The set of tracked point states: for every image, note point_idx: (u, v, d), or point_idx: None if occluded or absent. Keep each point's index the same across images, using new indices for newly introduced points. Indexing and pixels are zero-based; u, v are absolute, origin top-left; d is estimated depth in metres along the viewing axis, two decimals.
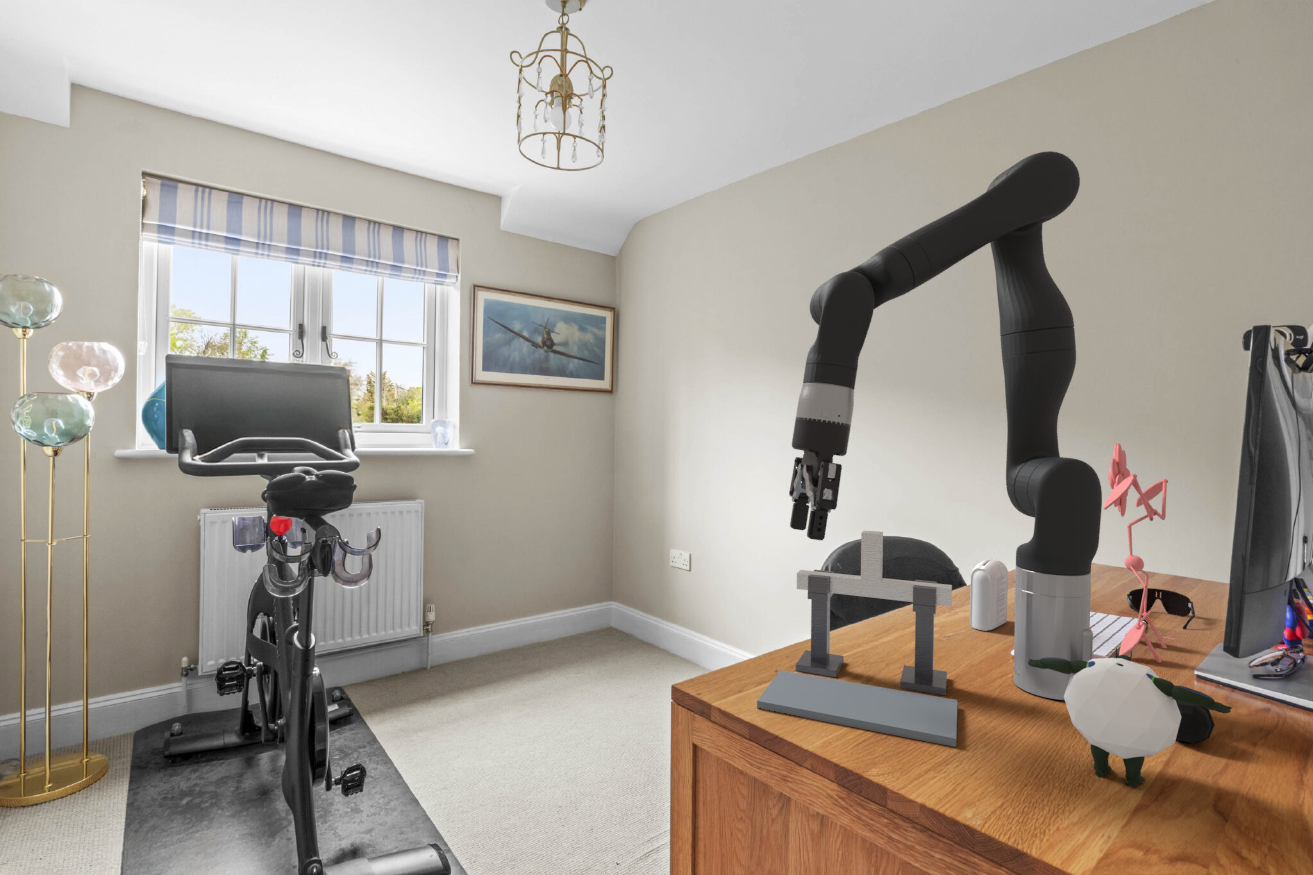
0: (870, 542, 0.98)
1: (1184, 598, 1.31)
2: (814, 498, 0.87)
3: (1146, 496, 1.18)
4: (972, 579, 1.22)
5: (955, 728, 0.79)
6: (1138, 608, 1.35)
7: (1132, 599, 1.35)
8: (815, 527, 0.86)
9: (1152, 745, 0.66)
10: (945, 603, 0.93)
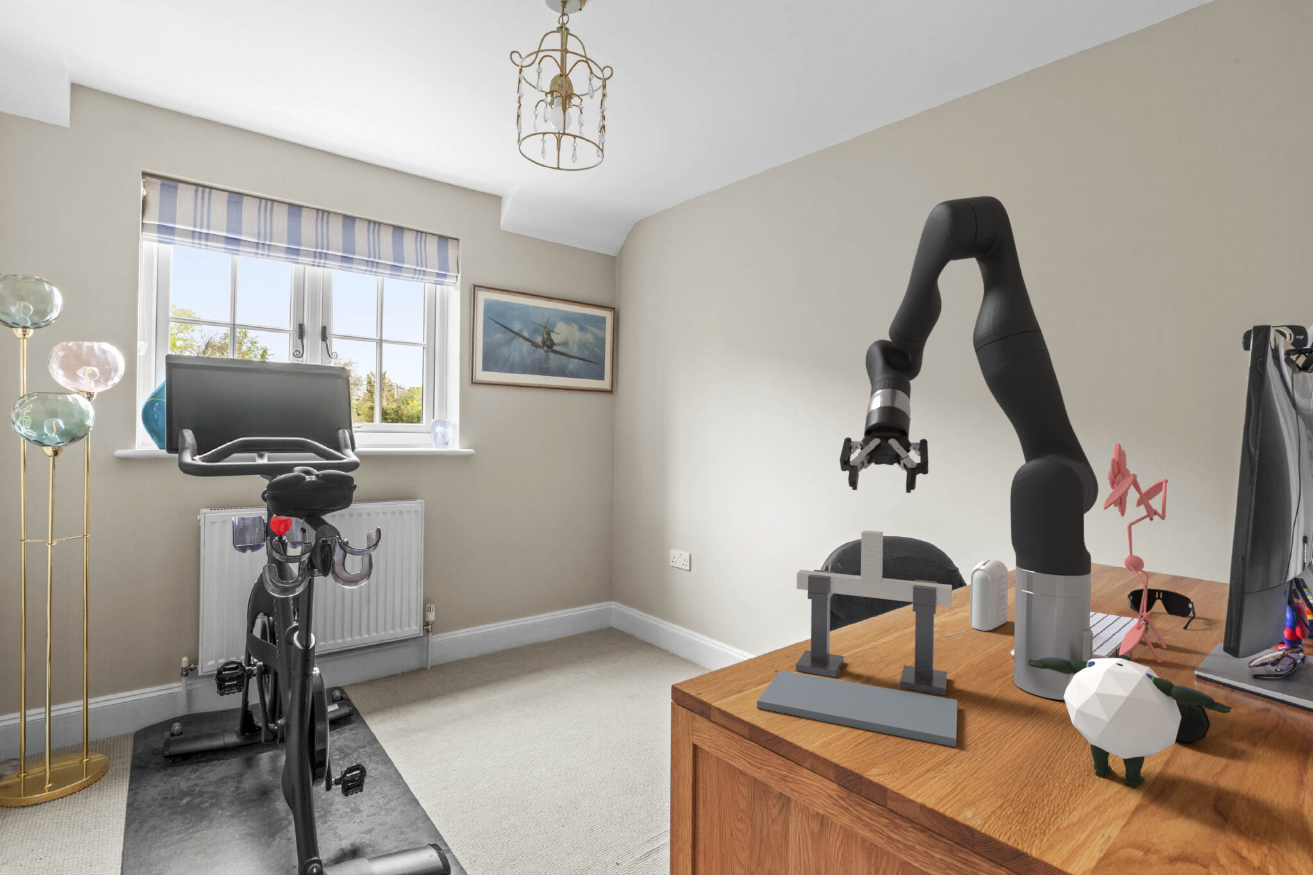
0: (870, 542, 0.98)
1: (1184, 598, 1.31)
2: None
3: (1146, 496, 1.18)
4: (972, 579, 1.22)
5: (955, 728, 0.79)
6: (1138, 608, 1.35)
7: (1132, 599, 1.35)
8: None
9: (1152, 745, 0.66)
10: (945, 603, 0.93)
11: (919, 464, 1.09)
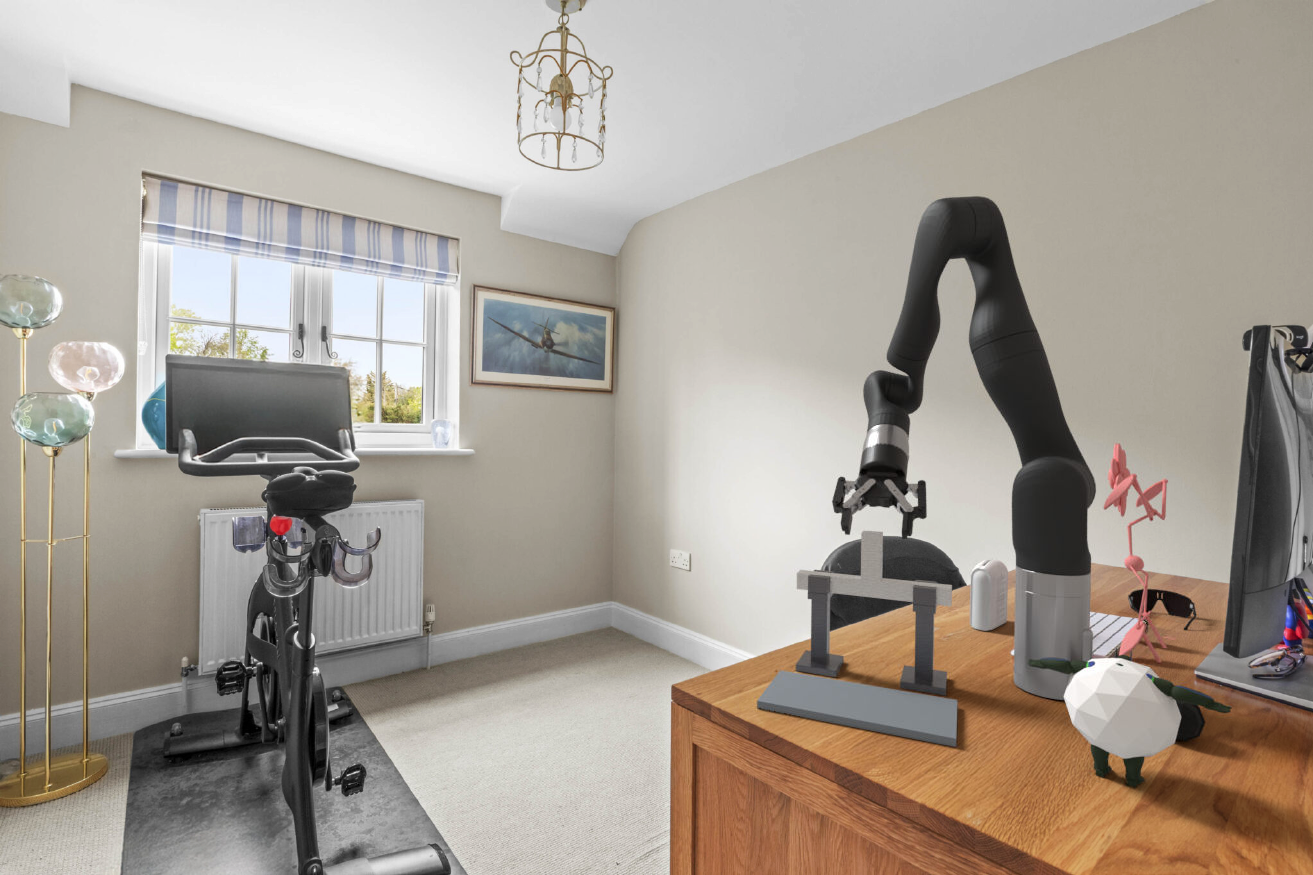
0: (870, 542, 0.98)
1: (1185, 599, 1.30)
2: None
3: (1146, 496, 1.18)
4: (972, 579, 1.22)
5: (955, 728, 0.79)
6: (1139, 609, 1.34)
7: (1133, 600, 1.35)
8: None
9: (1152, 745, 0.66)
10: (945, 603, 0.93)
11: (916, 508, 1.02)
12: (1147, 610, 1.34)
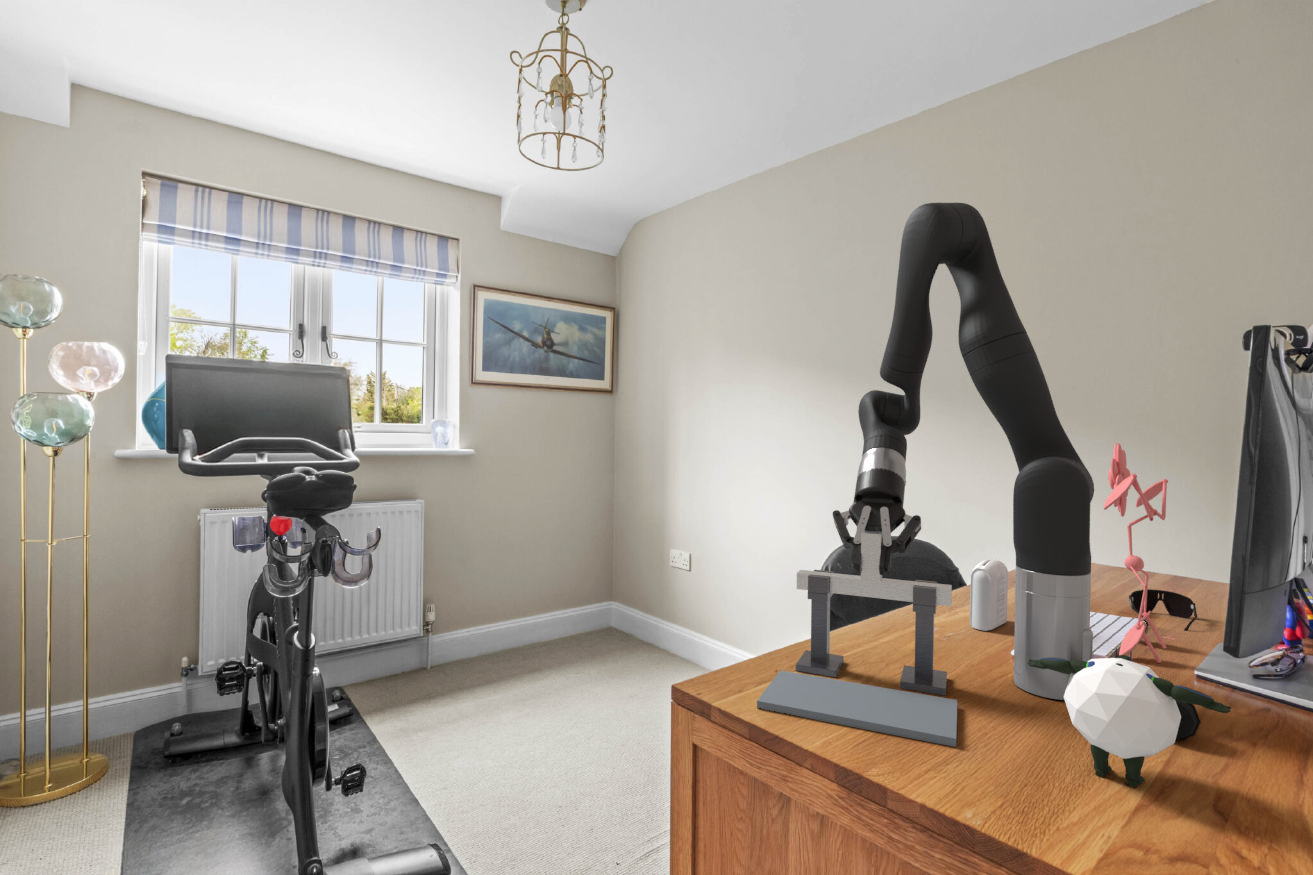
0: (870, 542, 0.98)
1: (1186, 599, 1.30)
2: None
3: (1146, 496, 1.18)
4: (972, 579, 1.22)
5: (955, 728, 0.79)
6: None
7: (1134, 600, 1.34)
8: None
9: (1152, 745, 0.66)
10: (945, 603, 0.93)
11: (895, 540, 0.98)
12: (1148, 610, 1.34)
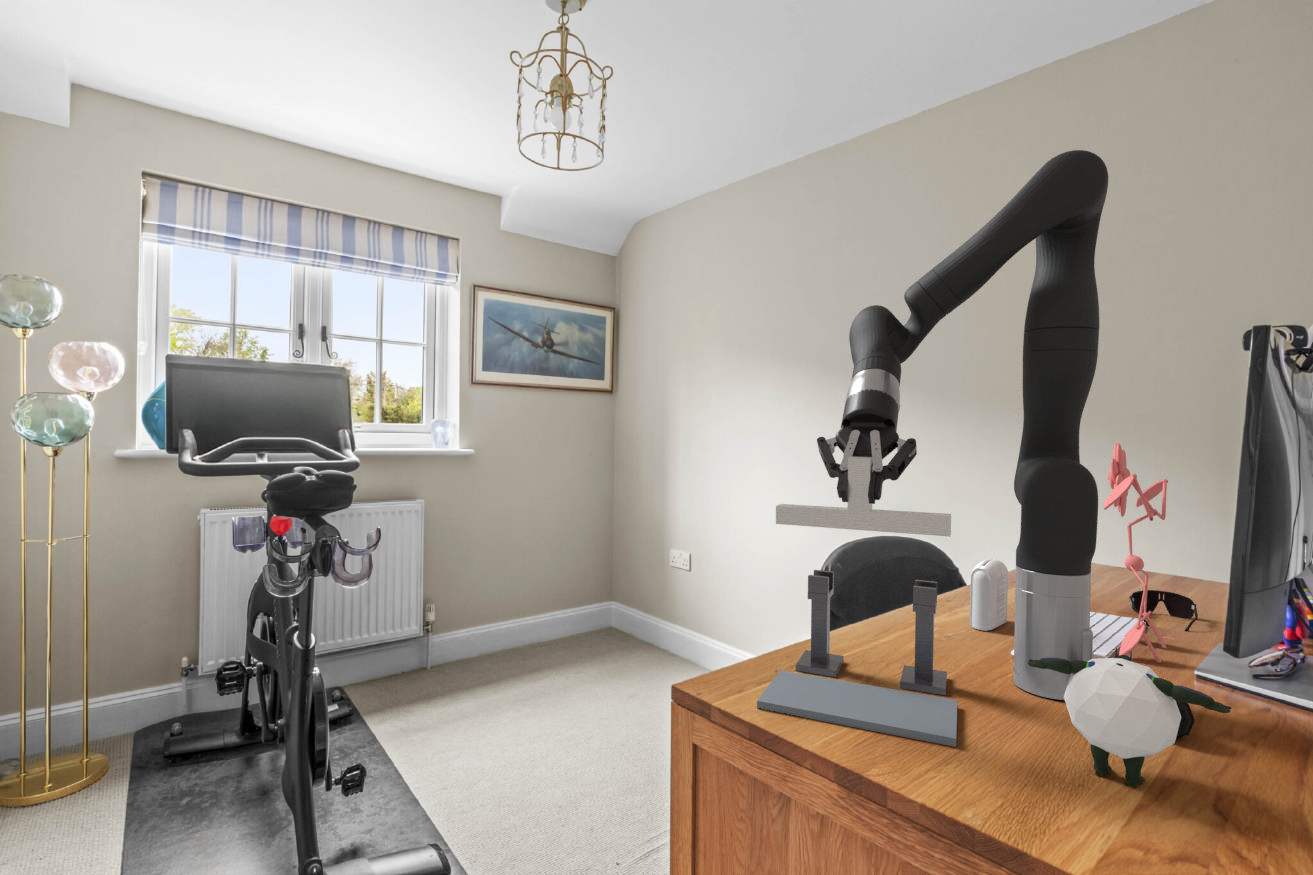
0: (858, 467, 0.86)
1: (1187, 600, 1.29)
2: None
3: (1146, 496, 1.18)
4: (972, 579, 1.22)
5: (955, 728, 0.79)
6: None
7: (1134, 601, 1.34)
8: None
9: (1152, 745, 0.66)
10: (943, 533, 0.82)
11: (887, 465, 0.87)
12: (1148, 611, 1.33)
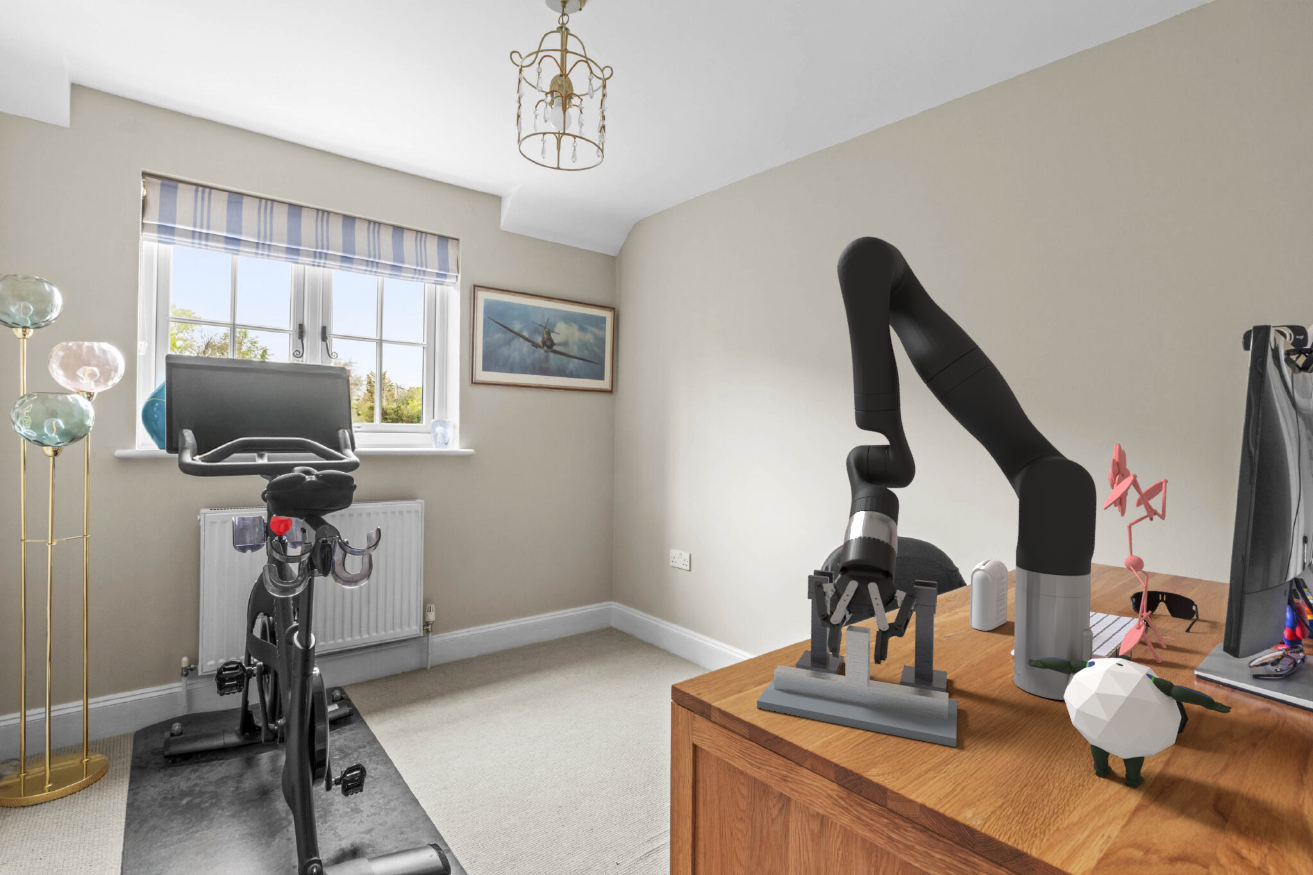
0: (856, 641, 0.86)
1: (1188, 600, 1.29)
2: None
3: (1146, 496, 1.18)
4: (972, 579, 1.22)
5: (955, 728, 0.79)
6: (1142, 611, 1.33)
7: (1135, 602, 1.33)
8: None
9: (1152, 745, 0.66)
10: (940, 716, 0.82)
11: (892, 623, 0.87)
12: None
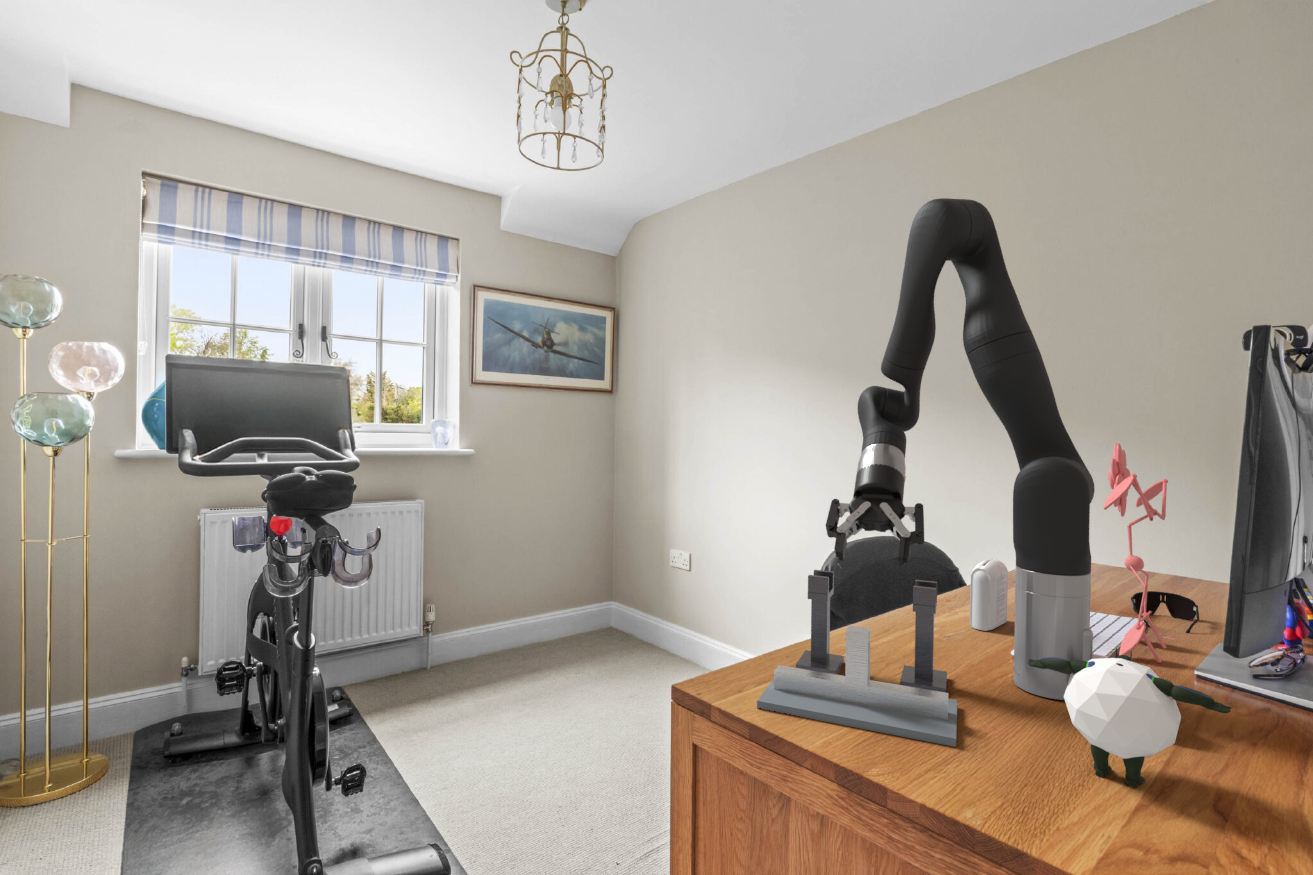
0: (856, 641, 0.86)
1: (1189, 601, 1.28)
2: None
3: (1146, 496, 1.18)
4: (972, 579, 1.22)
5: (955, 728, 0.79)
6: (1142, 611, 1.33)
7: (1136, 602, 1.33)
8: None
9: (1152, 745, 0.66)
10: (940, 716, 0.82)
11: (914, 533, 0.98)
12: None
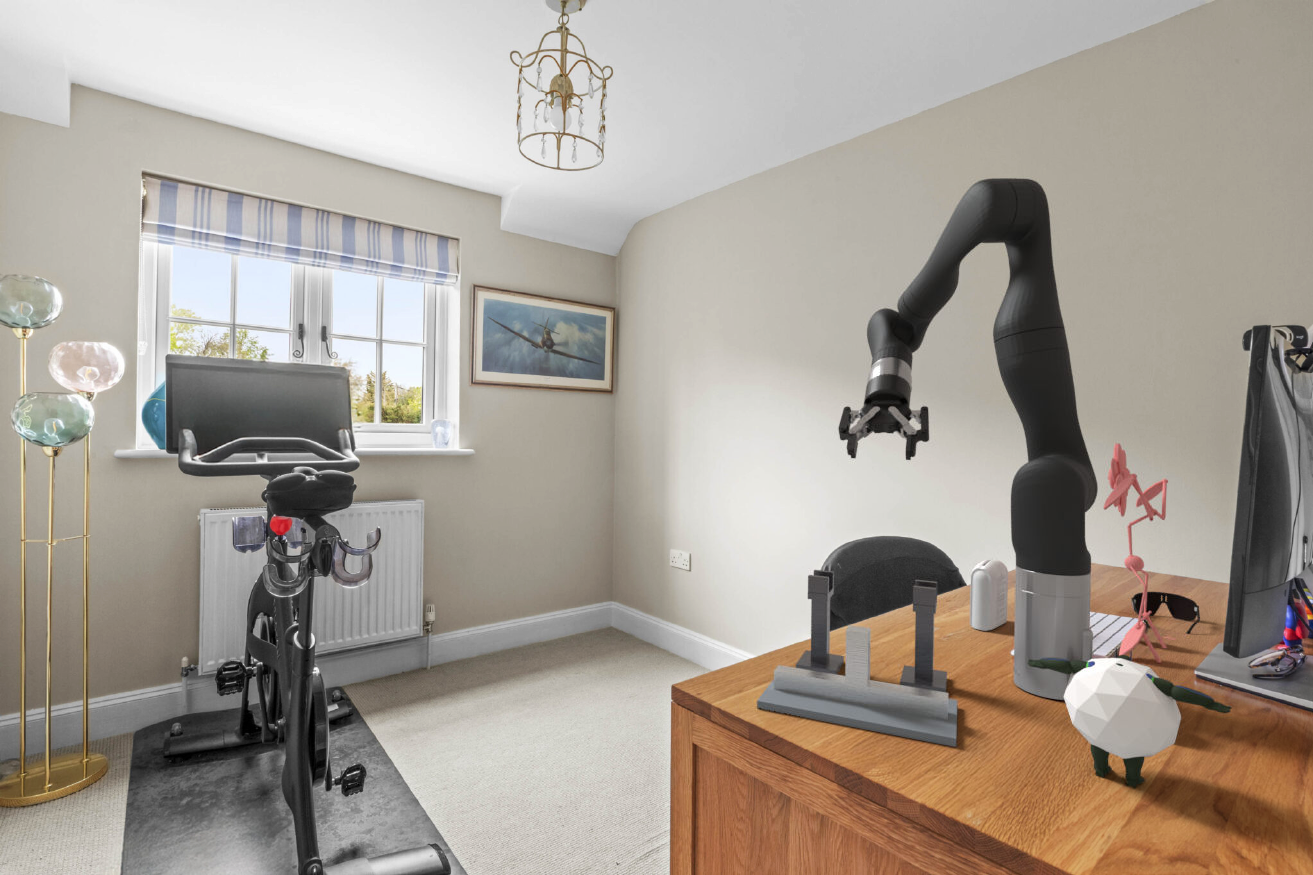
0: (856, 641, 0.86)
1: (1190, 602, 1.28)
2: None
3: (1146, 496, 1.18)
4: (972, 579, 1.22)
5: (955, 728, 0.79)
6: (1143, 612, 1.32)
7: (1136, 603, 1.33)
8: None
9: (1152, 745, 0.66)
10: (940, 716, 0.82)
11: (919, 431, 1.07)
12: (1151, 613, 1.32)
